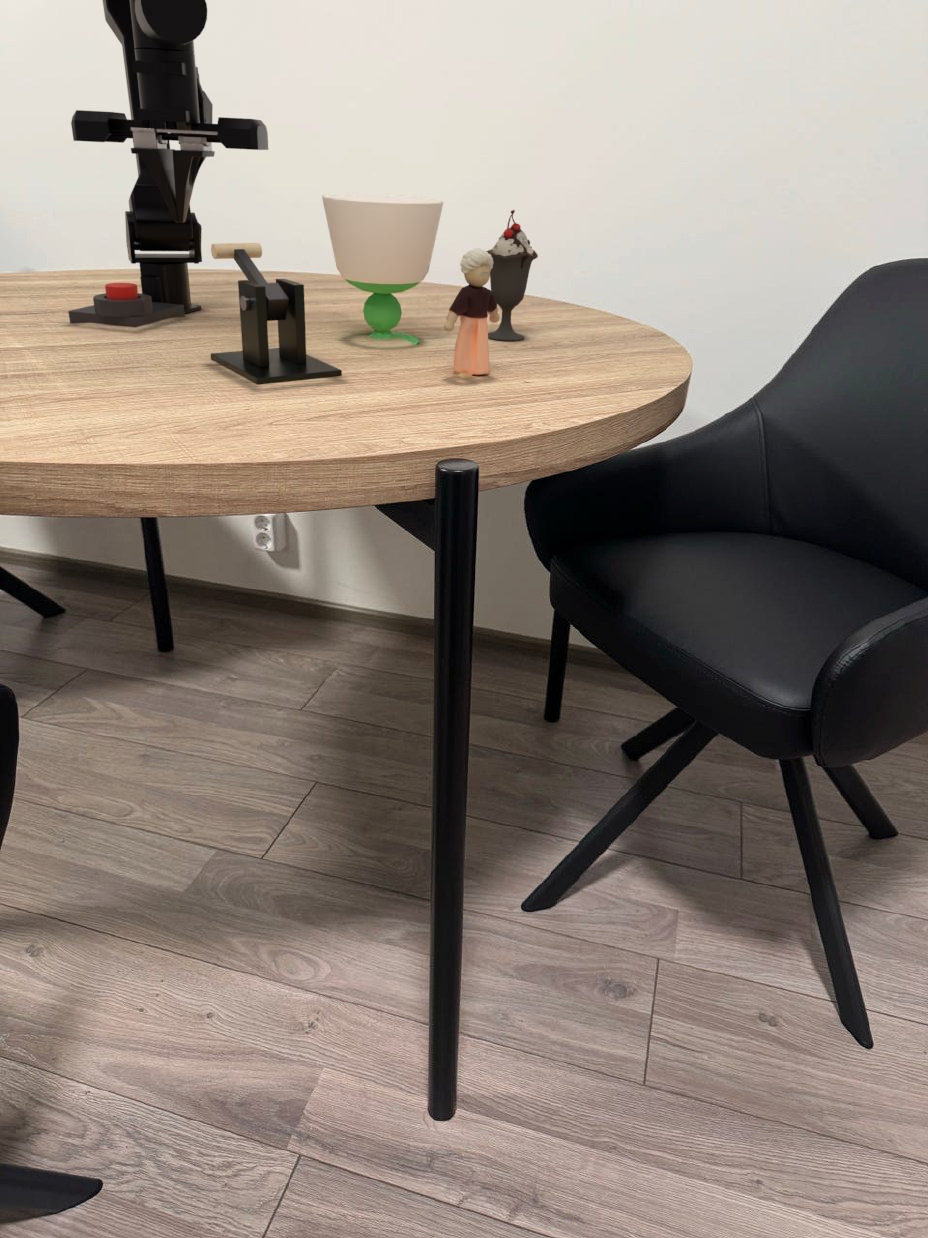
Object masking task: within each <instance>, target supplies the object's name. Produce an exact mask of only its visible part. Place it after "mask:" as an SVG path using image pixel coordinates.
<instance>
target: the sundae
mask: <svg viewBox="0 0 928 1238" xmlns="http://www.w3.org/2000/svg"><path fill="white" fill-rule="evenodd" d="M514 213H516V210H514V209H513V210H510V216H509V217H508V221H507V227H506V229H504V231H503V232H502V233H501V235H500V237H498V240H497V241H496V243H495V244H494V246H493V247H492V248H491V249H488V250H485V251H486V252H488V254H490V255H491V256H492V258H493V268H492V269H491V271H490V278H489V283H490V290H491V291H492V293H493V295H494V297H495V299H496V302H497V306H499V307H500V309H501V319H500V324H499V326H498V327H497V328H496V330H494V331H491V332H488V339H490V340H494V341H501V342H518V341H523V340H524V339H525V336H524V335H523V334H520V333H518V332H516V331H515V330H514V329H513V326H512V311H513V310H514V308H516V307H517V306H519V304H520V303H521V302H522V301H523V300H524V298H525V293H526V289H527V285H528V280H529V276H530V275H529V274H530V270H531V266H532V262H533V261H535V260H536V259H538V257H539V255H538V253H537V252H536V250H534V249H533V247H532V246H531V240H530V239H528V237H527V235H526V233H525V232H524V231H523V230H522V229H521V224H520V223H517V222H516V221H515V220H514ZM511 219H512V222H513V224H511V226H510V222H511Z"/></svg>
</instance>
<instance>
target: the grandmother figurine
mask: <svg viewBox="0 0 928 1238" xmlns="http://www.w3.org/2000/svg"><path fill="white" fill-rule="evenodd" d="M486 251H487V250H485V249H482V248H479V247H477V248H473V249H470V250H469V251H468V252H466V253H465V254H463V255H462V257H461V260H460V263H459V266H460V267H461V268H460V272H461V273H463V275H464V280H465V282H466V283H467V285H466V286H463V287H461V288H460V290H459V292H458V293H457V295H456V296H455V298H454V300H453V302H452V304H451V305H450V307H449V309H448V313H447V316H446V321H444V323H443V329H444V331H446V332H452V331H453V330H454V327H455V324H456V323H457V321H458V319H459V321H460V325H459V328H458V332H457V337H456V340H455V344H454V352H453V353H454V354H453V363H452V364H453V366H452V370H453V371H454V372H453V375H454V376H455V377H457V378H463V379H465V378H466V379H467V378H472V376H473V375H476V376H477V375H478V376H479V375H486V374H489V373H490V365H491V364H490V363H491V361H490V344H489V338H488V333H489V328H488V327H489V326H488V316H489V321H490V322H491V323H493V324H495V323H497V322H499V321H500V320H501V319H500V318H501V317H500V314H499V313H498V311H499V310H498V304H497V302H496V299H495V297H494V295H493V293H492V291H491V289H490V288H487V287H486V286H485V285H486V284H487V283H488V282H489V281H490V271H491V269H492V268H493V258H492V256H491V255H490V254H488V252H486Z"/></svg>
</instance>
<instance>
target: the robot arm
mask: <svg viewBox="0 0 928 1238" xmlns="http://www.w3.org/2000/svg"><path fill="white" fill-rule="evenodd" d="M102 7H103V13H104V19H105V22H106V24H107V25H108V27H109V28H110V30H111V31H112V32H113V34H114V35H115V37H116V39H117V40H118V41H119V43H120V45H121V49H122V56H123V64H124V72H125V78H126V79H125V80H126V88H127V95H128V103H129V104H128V105H129V111H130V112H129V113H130V119H128V118H127V116H126V114H125V113H124V112H115V111H104V110H103V111H101V110H100V111H99V110H84V109H83V110H81V109H76V110H75V112H74V113H73V115H72V117H71V122H70V125H71V132H72V139H73V142H93V143H125V142H126V140H127V139H132V144H133V145H132V146H133V147H130V152H131V154H132V155H134V154H135V159H136V168H137V179H136V181H135V184H134V186H133V188H132V190H131V193H130V196H129V198H128V208H129V210H125V212H124V219H125V221H124V222H125V241H126V242H125V243H126V249H127V256H128V261H129V262H130V263H131V264H132V265H133V264H134V265H136V264H139V272H140V277H139V279H140V288H141V294H146V295H149V296H151V299H152V302H158V303H171V304H181V305H184V314H188V313H192V312H196V311H199V310H202V305H201V304H192V300H191V299H192V298H191V288H190V287H191V286H190V278H189V277H190V275H189V265H188V264H197V265H198V264H200V263H202V262H203V256H202V228H203V227H202V224H201V223H200V222H199V221H198V219H197V216H196V213H195V212H192V211H191V204H190V203H191V199H192V195H193V191H194V186H195V182H196V179H197V177H198V174H199V171H200V169H201V167H202V165H203V164H204V161H205V160H206V158H214V157H215V153H216V151H215V150H213V143H215V144H217V143H218V144H221V145H223V147H224V148H225V149H230V150H231V149H233V150H253V151H254V150H255V151H269V139H268V138H269V136H268V135H269V134H268V133H269V132H268V128H267V125H266V124H265V123H264V122H263V121H262V120H261V119H255V118H242V117H241V118H239V117H223V116H222V117H220V116H219V117H218V118H217V123H213V106H214V105H213V103H212V101H211V100H210V98H209V97H208V95H207V93H206V92H205V91H204V90H203V87H202V85H201V82H200V74H199V67H198V66H197V65H196V56H195V55H196V54H195V42H194V40H196V39H197V38H198V37H199V36H200V35H201V34H202V32H203V31H204V29H205V27H206V23H207V21H208V3H207V1H206V0H102ZM170 141H172V142H173V141H174V142H175V141H176V142H178V145H179V146H180V147H179V148H180V149H174V148H171V144H170ZM136 251H139V252H188V253H136Z"/></svg>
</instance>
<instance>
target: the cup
mask: <svg viewBox="0 0 928 1238" xmlns="http://www.w3.org/2000/svg"><path fill="white" fill-rule="evenodd" d="M321 199H322V203H323V208H324V214H325V217H326V222H327V228H328V233H329V238H330V243H331V248H332V253H333V257H334V262H335V266H336V267H335V268H336V269H337V271H338V273H339V274H340V276H341V278H343V280H345V282H347V283H348V284H349V285H351V286H352V287H355V288H357V289H359V290H360V291H363V292H367V293H372V294H371V295H369V296H368V297H367V299H366V300H365V302H364V303H363V309H362V314H363V318H364V320H365V322H366V323H367V325H368V327H370V328H371V329H372V330H373V332H372V333H370V334H369V335H368V336H369V337H370V338H372V339H379V340H380V339H381V340H385V339H386V340H388V339H394V338H399V339H401V340H404V341H406V342H409V343H412V344H415V345H418V344H419V343H420V342H421V341H420V340H419V338H418V337H416V336H413V335H411V334H408V333H407V334H406V333H400V332H391V330H393V329H395V328H396V327H397V325H398V324H399V323H400V321H401V319H402V313H403V311H402V306H401V305H402V304H401V303H400V302H399V300H398V298H397V297H396V296H395V295H393V294H397V293H398V294H399V293H403V292H406V291H407V290H410V289H412V288H415V287H416V286H418V285H419V284H420V283H421V282H422V281H424V280H425V278H426V277H427V275H428V273H429V270H430V267H431V262H432V258H433V252H434V248H435V243H436V239H437V235H438V230H439V229H438V228H439V224H440V220H441V217H442V211H443V207H444V201H443V199H440V198H433V197H428V196H427V197H426V196H416V195H404V194H403V195H402V194H389V193H386V194H385V193H363V192H362V193H358V192H355V193H354V192H352V193H350V192H337V193H324V194H322V195H321Z"/></svg>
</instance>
